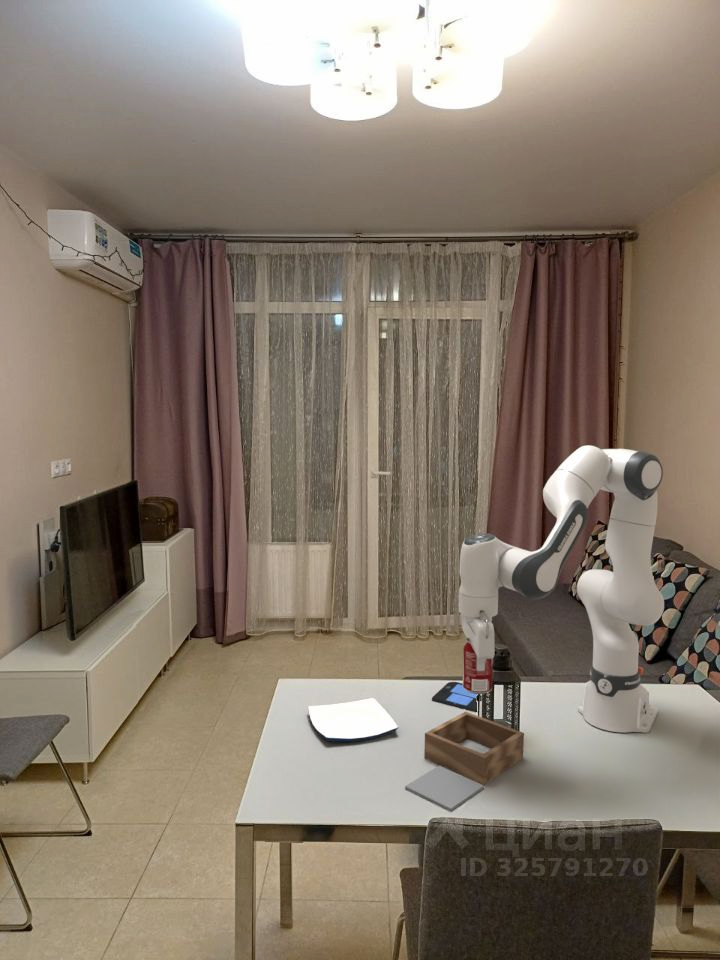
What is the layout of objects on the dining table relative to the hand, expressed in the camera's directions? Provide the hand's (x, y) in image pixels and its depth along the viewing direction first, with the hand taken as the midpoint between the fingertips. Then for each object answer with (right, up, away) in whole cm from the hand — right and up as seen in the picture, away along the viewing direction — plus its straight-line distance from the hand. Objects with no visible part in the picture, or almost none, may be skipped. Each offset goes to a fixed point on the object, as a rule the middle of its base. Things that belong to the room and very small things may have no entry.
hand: (476, 663), depth 158 cm
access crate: (0, -23, +2) cm, 23 cm away
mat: (-9, -24, -11) cm, 28 cm away
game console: (+2, -20, +35) cm, 41 cm away
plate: (-29, -21, +18) cm, 40 cm away
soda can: (0, -7, +1) cm, 7 cm away
